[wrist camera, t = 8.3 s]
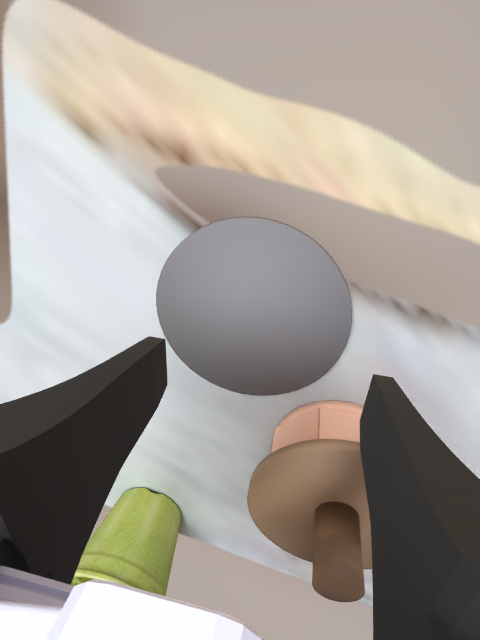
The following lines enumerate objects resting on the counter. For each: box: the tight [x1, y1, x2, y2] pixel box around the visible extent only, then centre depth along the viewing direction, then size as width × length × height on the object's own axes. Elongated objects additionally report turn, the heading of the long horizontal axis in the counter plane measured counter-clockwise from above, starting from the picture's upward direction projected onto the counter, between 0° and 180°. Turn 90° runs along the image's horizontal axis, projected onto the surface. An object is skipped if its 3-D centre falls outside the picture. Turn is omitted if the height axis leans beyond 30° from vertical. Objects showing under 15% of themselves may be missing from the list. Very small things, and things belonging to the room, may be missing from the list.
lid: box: [247, 439, 372, 602], centre depth 21 cm, size 11×11×5 cm
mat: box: [156, 217, 352, 395], centre depth 23 cm, size 12×12×1 cm
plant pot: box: [71, 488, 181, 596], centre depth 32 cm, size 9×9×9 cm
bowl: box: [270, 401, 364, 454], centre depth 25 cm, size 9×9×4 cm
